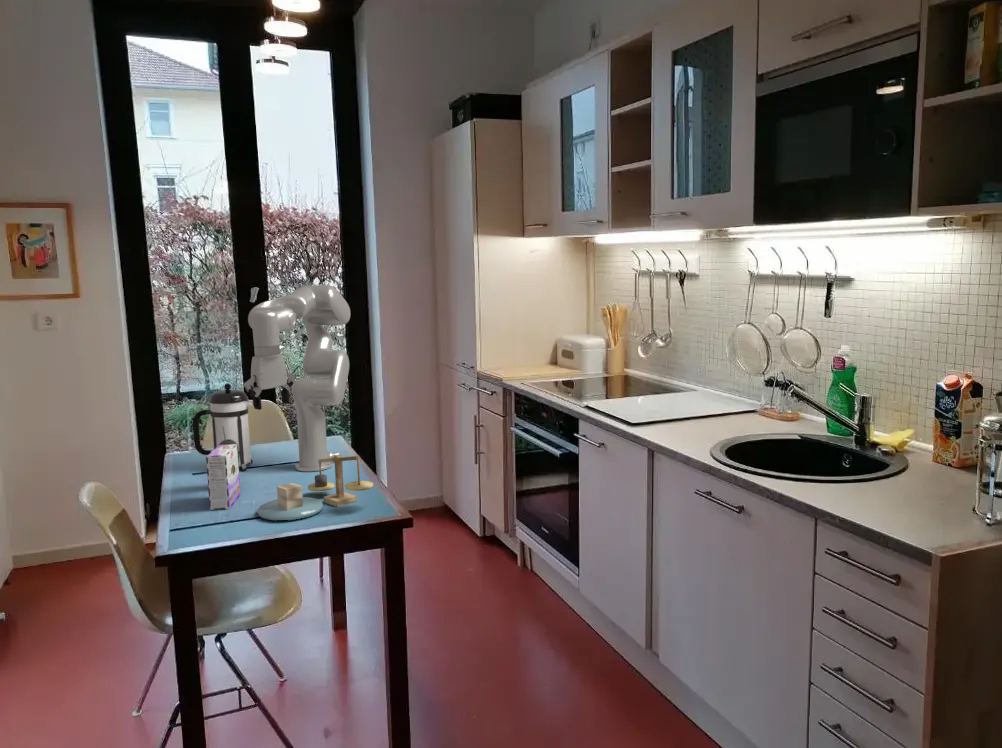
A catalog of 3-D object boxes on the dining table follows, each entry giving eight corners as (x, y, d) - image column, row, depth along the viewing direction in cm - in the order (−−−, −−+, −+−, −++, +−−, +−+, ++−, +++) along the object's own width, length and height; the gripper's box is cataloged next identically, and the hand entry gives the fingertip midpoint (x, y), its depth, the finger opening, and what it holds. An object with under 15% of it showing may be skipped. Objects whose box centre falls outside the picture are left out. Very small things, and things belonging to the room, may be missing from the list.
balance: (325, 489, 245) (322, 441, 242) (379, 507, 226) (377, 455, 223) (303, 495, 239) (300, 446, 236) (357, 514, 220) (354, 461, 218)
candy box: (221, 496, 240) (218, 444, 238) (241, 495, 241) (237, 443, 238) (209, 510, 226) (204, 455, 224) (229, 509, 227) (225, 454, 224)
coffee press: (242, 459, 284) (236, 378, 280) (263, 467, 273) (257, 383, 268) (195, 469, 272) (188, 384, 268) (215, 477, 261) (208, 389, 256)
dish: (300, 498, 236) (300, 493, 236) (335, 510, 224) (335, 505, 224) (246, 513, 223) (245, 507, 223) (279, 527, 211) (279, 521, 211)
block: (293, 502, 227) (292, 482, 226) (302, 506, 223) (301, 486, 223) (278, 506, 223) (276, 486, 222) (287, 510, 220) (286, 490, 219)
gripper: (285, 346, 245) (289, 399, 248) (235, 354, 233) (240, 409, 236) (298, 348, 240) (302, 402, 243) (248, 356, 228) (253, 413, 231)
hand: (272, 406), depth 240 cm, fingers open, 9 cm apart
